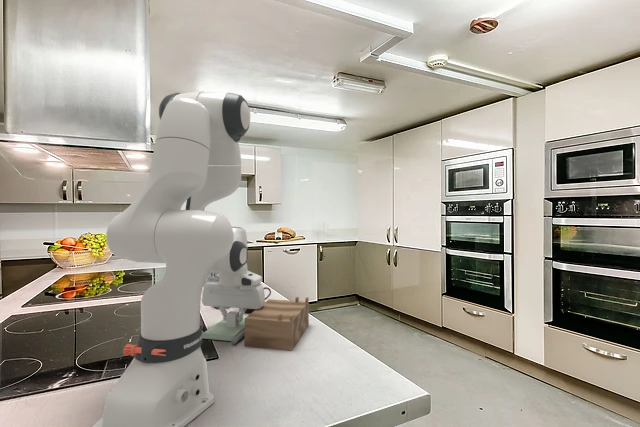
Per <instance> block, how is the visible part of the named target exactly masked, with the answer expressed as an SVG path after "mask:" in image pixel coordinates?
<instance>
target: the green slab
mask: <svg viewBox="0 0 640 427" xmlns="http://www.w3.org/2000/svg"><path fill="white" fill-rule="evenodd" d="M238 315H240V311H236V310H235V311H233V310H231V311H229V312H227V314H226V321H223V319H222V320H220V321H218V322H217V323H216V324H215V325H213V326H211V327H210V328H208V329H206V330H205V331H204V332H202V333H203V337H202V339H206V340H214V341H215V340H216V341H217V340H219V341H227V342H231V344H232V345H236V344H237V343H238V342H239V341H240V340H242V338H243V337H245V318H246V317H247V316H246V317H244V316H243V321H242V322H236V320H237V319H236V316H238Z"/></svg>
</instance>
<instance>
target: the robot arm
mask: <svg viewBox="0 0 640 427" xmlns="http://www.w3.org/2000/svg"><path fill="white" fill-rule="evenodd" d="M158 117H159V124H158V127H157V131H156V135H155V136H156V137H155V142H154V149H153V152H152V153H153V154H152V159H151V163H150V169H149V172H148V176H147V179H146V181H145V183H144V185H143V187H142V189H141V190H140V191H139V194H138V195H137V197H136V198H135V199H134V200H133V202H131V203H130V205H128V207H126V208H125V209H124V210H123V211H122V212H120V213H118V214H116V215H115V216H114V217H113V218H112V219H111V221H110V223H109V224H108V226H107V228H106V234H105V235H106V236H105V238H106V239H105V240H106V244H107V247H108V249H109V251H110V252H111V253H112V254H113V255H114V256H115V257H117V258H121V259H124V260H127V261H131V262H136V263H145V264H146V263H148V264H149V263H153V264H165V272H164V276H163V277H162V279H161V280H159V281H158V282H156V283H154V284H152V285H151V286H149V287H148V288H147V290H146V291H145V292H144V293H143V295H142V297H141V300H140V332H139V334H138V338H137V340H136V344H131V343H126V344H125V345H124V348H123V349H122V350H123V351H122V352H123V355H124V356H132V357H133V359H132V360H131V362H130V363H129V364H128V366H127V368H126V369H125V370H124V372H123V373H122V375H121V376H120V377H119V379H118V380H117V382H116V383H115V385H113V387H112V389H111V390H110V391H109V393H108V394H107V395H106V398H105V400H104V404H103V405H104V406H103V411H102V412H103V413H102V416H101V417H100V418H99V419H98V420H97V421H96V422H95V423H94V424H93V425H92V426H91V427H186V426H187V425H188V424H189V423H190V422H192V421H193V420H194V419H195V418H197V417H198V416H199V415H201V413H203V412H204V411H205V410H207V409H208V408H209V407H211V405H213V404H214V403H215V396H214V395H213V393H212V392H211V391H210V384H209V375H208V374H209V373H208V362H207V359H206V357H205V355H204V353H203V351H202V347H201V346H202V344H203V333H204V332H203V330H202V329H203V328H202V325H201V324H200V323H201V319H200V318H201V302H202V305H203V306H205V307H215V306H216V307H220V309H219V311H220V312H221V315H222V320H223V321H226V314H227V313H228V311H227V310H226V309H228V308H227V307H229V309H230V308H232V309H239V311H238V312H239V315H238V316H236V319H237V320H236V322H242V321H243V317H244V315H245V314H244V313H245V311H246V309H260V308H262V307H263V306H264V304H265V302H266V300H265V298H266V297H265V289H264V288H265V287H264V285H263V284H262V281H263V277H262V276H261V275H259V274H257V273H255V272H252V271H250V270H248V263H247V262H248V254H249V253H248V248H249V247H248V237H247V232H246V229H245V228H243V227H241V226H232V224H231V222H230V221H229V219H228V218H227V217H226V216H225V215H224V214H220V213H216V212H212V211H207V210H205V209H206V207H207V206H209V205H210V204H212V203H214V202H216V201H219V200H222V199H225V198H226V197H229V196H231V195H232V194H233V193H235V192H236V191H237V190H238V189H239V187H240V185H241V182H242V158H241V157H242V156H241V150H240V149H241V148H240V143H239V141H240V140H241V138H243V137H244V136H245V135H246V134H247V132H248V131H249V128H250V124H251V112H250V108H249V104H248V102H247V100H246V99H245V98H244V97H243V95H241V94H238V93H233V92H226V93H222V92H213V91H212V92H210V91H209V92H207V91H193V92H192V91H190V92H183V93H181V92H174V93H170V94H168V95H165V96H164V98H162V101H161V102H160V104H159V106H158ZM185 203H186V204H185ZM184 204H185V209H182V208H183V205H184ZM209 273H219V277H212V276H208V274H209ZM207 276H208V277H207ZM207 279H208V280H207ZM216 307H215V308H216Z"/></svg>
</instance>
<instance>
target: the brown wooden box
mask: <svg viewBox="0 0 640 427" xmlns="http://www.w3.org/2000/svg"><path fill="white" fill-rule="evenodd" d="M309 299H310V298H309V297H307V296H306V297H305V301H301V300H300V297H299V296H295V299H294V300H288V299H287V300H286V299H285V300H284V299H273V298H271V299H270V298H269V299H267V300H265V304H264V306H263V307H262V308H260V309H256V310H255V311H253V312H252V313H251V314H247V316H246V318H245V336H244V347H251V348H261V349H267V350H268V349H270V350H278V351H279V350H280V351H291V352H292V351H293V350H294V348H295V347H296V346H297V344H298V343H299V341H300V339H301V337H303V335H304V333H305V332H306V330H307V329H308V327H309V325H310V322H309V321H310V319H309V317H310V316H309V314H310V313H309V311H310V308H309V307H310V306H309V305H310V300H309Z"/></svg>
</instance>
